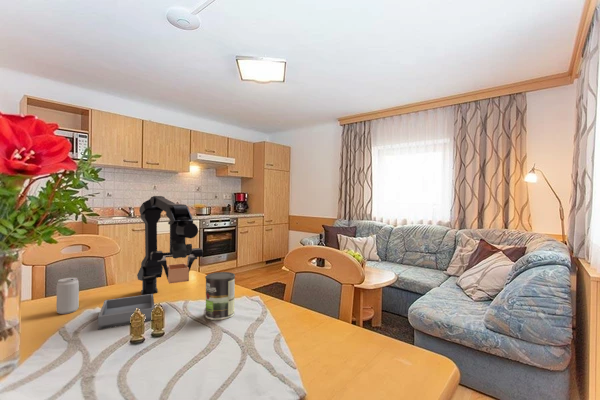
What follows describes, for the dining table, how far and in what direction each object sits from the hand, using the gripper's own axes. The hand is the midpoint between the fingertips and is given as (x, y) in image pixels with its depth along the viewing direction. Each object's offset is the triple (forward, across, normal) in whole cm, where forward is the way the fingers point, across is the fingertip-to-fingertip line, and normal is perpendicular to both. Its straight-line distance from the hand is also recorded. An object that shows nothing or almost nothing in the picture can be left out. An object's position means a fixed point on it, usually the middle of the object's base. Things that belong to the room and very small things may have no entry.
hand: (177, 276), depth 113 cm
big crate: (+11, -16, -3) cm, 20 cm away
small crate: (+1, 0, 0) cm, 1 cm away
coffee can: (+12, +12, -18) cm, 25 cm away
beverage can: (+12, -36, +13) cm, 40 cm away
